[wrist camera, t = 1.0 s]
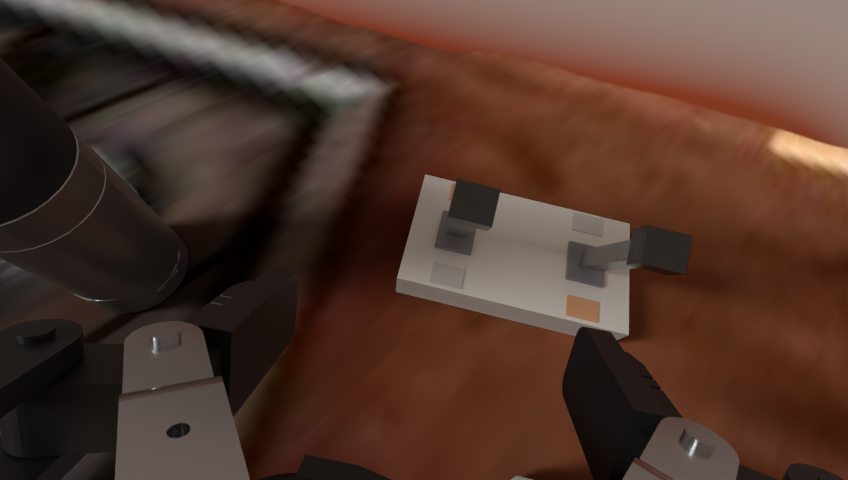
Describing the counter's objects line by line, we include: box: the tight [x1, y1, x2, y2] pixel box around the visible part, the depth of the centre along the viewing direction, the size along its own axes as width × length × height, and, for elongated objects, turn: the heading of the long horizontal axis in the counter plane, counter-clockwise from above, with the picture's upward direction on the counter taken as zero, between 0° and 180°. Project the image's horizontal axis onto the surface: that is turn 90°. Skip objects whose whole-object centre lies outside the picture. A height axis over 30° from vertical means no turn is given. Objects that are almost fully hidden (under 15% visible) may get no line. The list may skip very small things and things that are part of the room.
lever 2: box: [579, 225, 692, 275], centre depth 34 cm, size 3×3×12 cm
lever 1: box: [446, 179, 501, 239], centre depth 34 cm, size 3×3×12 cm
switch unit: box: [396, 174, 630, 340], centre depth 43 cm, size 22×12×4 cm, turn 77°
